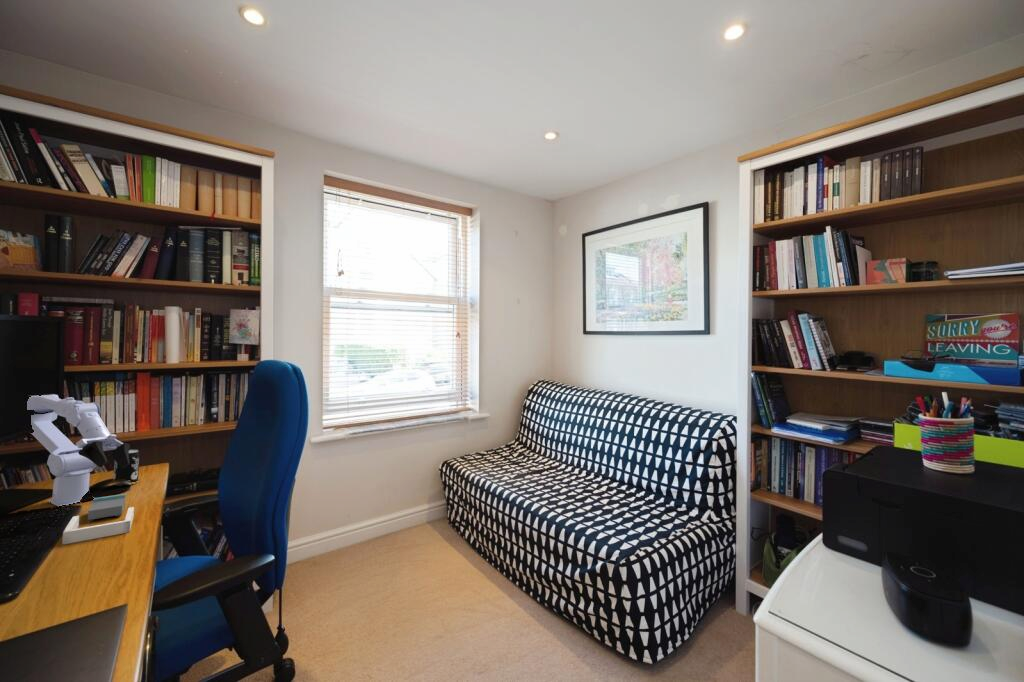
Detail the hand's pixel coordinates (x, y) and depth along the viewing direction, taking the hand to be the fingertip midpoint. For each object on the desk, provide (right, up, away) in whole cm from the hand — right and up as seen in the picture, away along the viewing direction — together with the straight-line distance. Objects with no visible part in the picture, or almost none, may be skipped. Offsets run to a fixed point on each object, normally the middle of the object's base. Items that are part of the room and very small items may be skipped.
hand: (115, 465), depth 126 cm
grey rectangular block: (+2, -13, -5) cm, 14 cm away
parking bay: (+11, -13, -15) cm, 22 cm away
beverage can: (-18, -14, +23) cm, 32 cm away
